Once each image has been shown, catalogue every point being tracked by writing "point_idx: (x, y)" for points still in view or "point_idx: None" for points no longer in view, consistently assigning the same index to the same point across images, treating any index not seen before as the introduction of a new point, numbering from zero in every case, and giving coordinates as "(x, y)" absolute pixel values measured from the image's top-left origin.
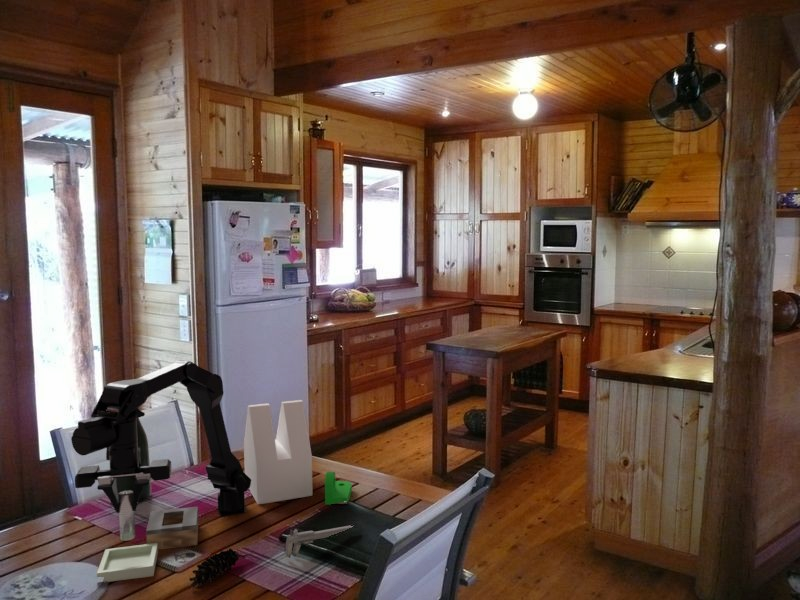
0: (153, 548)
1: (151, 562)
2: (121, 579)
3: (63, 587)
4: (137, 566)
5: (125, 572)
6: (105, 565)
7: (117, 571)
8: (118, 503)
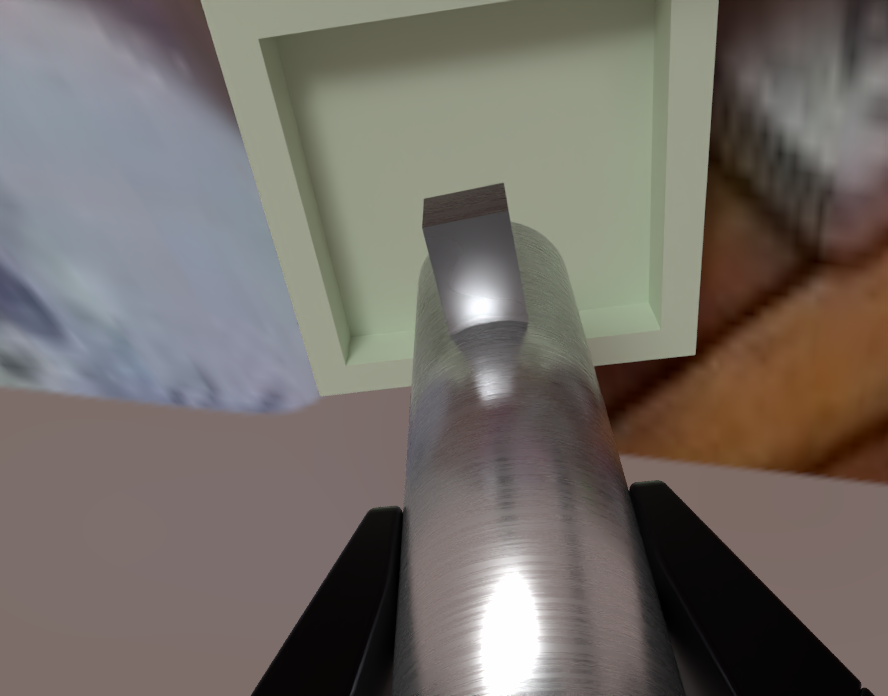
0: (685, 55)
1: (681, 306)
2: None
3: (127, 347)
4: None
5: None
6: (321, 254)
7: None
8: (392, 655)
